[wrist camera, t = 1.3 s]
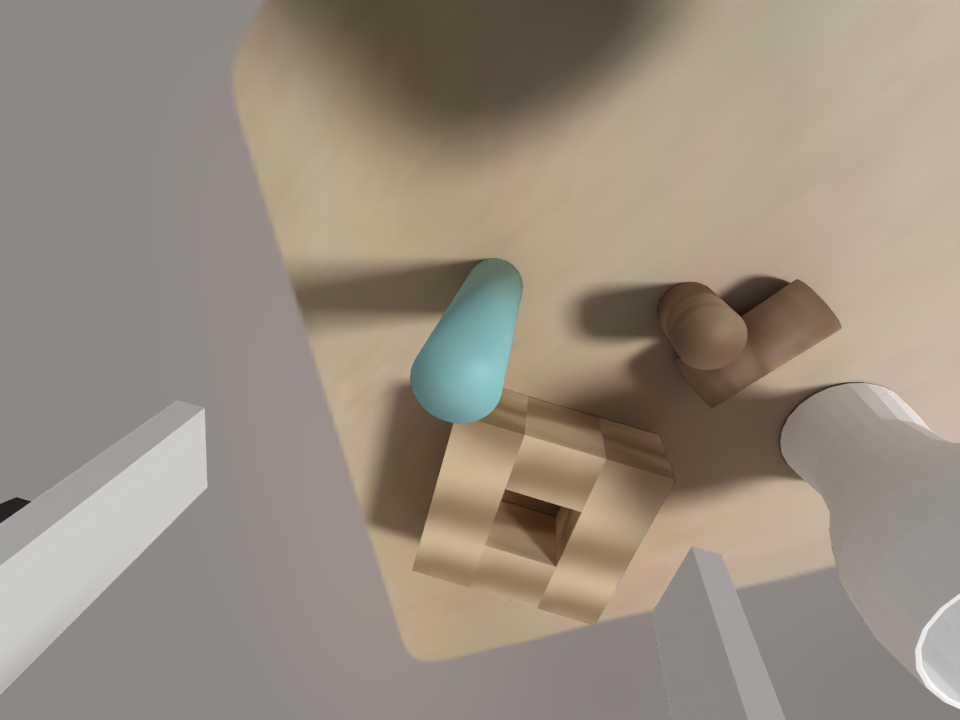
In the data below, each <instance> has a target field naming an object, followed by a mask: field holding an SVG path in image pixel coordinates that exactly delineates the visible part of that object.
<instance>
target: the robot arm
mask: <svg viewBox="0 0 960 720" xmlns="http://www.w3.org/2000/svg"><path fill="white" fill-rule="evenodd" d="M206 488H207V467H206V437H205V410H204V408H202V407H199V406H195V405H191V404H188V403H184V402H181V401H178V400H177V401H175V402H174V403H173V404H171V405H170V406H168V407H167V408H165V409H164V410H163V411H161V412H160V413H158V414H157V415H155V416H154V417H152V418H151V419H150V420H148V421H147V422H145V423H144V424H142V425H141V426H140V427H138V428H137V429H135V430H134V431H132V432H131V433H130V434H128V435H127V436H125V437H124V438H123V439H121V440H119V441H118V442H117V443H115V444H114V445H112V446H111V447H109V448H108V449H106V450H105V451H104V452H102V453H101V454H99V455H98V456H97V457H95V458H94V459H92V460H91V461H89V462H88V463H86V464H85V465H84V466H82V467H81V468H79V469H78V470H76V471H75V472H74V473H72V474H71V475H69V476H68V477H66V478H65V479H63V480H62V481H61V482H59V483H58V484H56V485H55V486H53V487H52V488H50V489H49V490H48V491H46V492H45V493H43V494H42V495H41V496H39V497H38V498H36V499H35V500H33V501H32V502H31V501H27V500H24V499H21V498H17V497H16V498H14V499H11V500H9V501H7V502H4V503H1V504H0V694H1V693H2V692H3V691H4V690H5V689H6V688H7V687H8V686H9V685H10V684H11V683H12V682H13V681H14V680H15V679H16V678H17V677H18V676H19V675H20V674H21V673H22V672H23V671H24V670H25V669H26V668H27V667H28V666H29V665H30V664H31V663H32V662H33V661H34V660H35V659H36V658H37V657H38V656H39V655H40V654H41V653H42V652H43V651H44V650H45V649H46V648H47V647H48V646H49V645H50V644H51V643H52V642H53V641H54V640H55V639H56V638H57V637H58V636H59V635H60V634H61V633H62V632H63V631H64V630H65V629H66V628H67V627H68V626H69V625H70V624H71V623H72V622H73V621H74V620H75V619H76V618H77V617H78V616H79V615H80V614H81V613H82V612H83V611H84V610H85V609H86V608H87V607H88V606H89V605H90V604H91V603H92V602H93V601H94V600H95V599H96V598H97V597H98V596H99V595H100V594H101V593H102V592H103V591H104V590H105V589H106V588H107V587H108V586H109V585H110V584H111V583H112V582H113V581H114V580H115V579H116V578H117V577H118V576H119V575H120V574H121V573H122V572H123V571H124V570H125V569H126V568H127V567H128V566H129V565H130V564H131V563H132V562H133V561H134V560H135V559H136V558H137V557H138V556H139V555H140V554H141V553H142V552H143V551H144V550H145V549H146V548H147V547H148V546H149V545H150V544H151V543H152V542H153V541H154V540H155V539H156V538H157V537H158V536H159V535H160V534H161V533H162V532H163V531H164V530H165V529H166V528H167V527H168V526H169V525H170V524H171V523H172V522H173V521H174V520H175V519H176V518H177V517H178V516H179V515H180V514H181V513H182V512H183V511H184V510H185V509H186V507H188V506H189V505H190V504H191V503H192V502H193V500H195V499H196V498H197V497H198V496H199V495H200V494H201V493H202V492H203V490H205V489H206ZM651 619H652V624H653V629H654V634H655V639H656V645H657V650H658V655H659V660H660V665H661V670H662V676H663V681H664V686H665V692H666V697H667V702H668V707H669V712H670V718H671V720H785V717H784V715H783V712H782V710H781V707H780V704H779V702H778V699H777V697H776V694H775V691H774V689H773V687H772V684H771V681H770V679H769V676H768V673H767V671H766V668H765V666H764V663H763V661H762V658H761V655H760V653H759V650H758V648H757V645H756V643H755V640H754V637H753V635H752V632H751V630H750V627H749V624H748V622H747V619H746V617H745V614H744V611H743V609H742V606H741V604H740V601H739V599H738V596H737V593H736V591H735V588H734V586H733V583H732V580H731V578H730V575H729V573H728V570H727V568H726V565H725V562H724V560H723V557H722V555H721V554H717V553H714V552H710V551H707V550H703V549H700V548H696V547H693V546H692V547H691V549H690V550H689V552H688V554H687V555H686V557H685V559H684V561H683V562H682V564H681V566H680V567H679V569H678V571H677V572H676V574H675V576H674V577H673V579H672V581H671V582H670V584H669V586H668V587H667V589H666V591H665V592H664V594H663V596H662V597H661V599H660V601H659V602H658V604H657V606H656V607H655V609H654V611H653V612H652V614H651Z"/></svg>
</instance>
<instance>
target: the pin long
mask: <svg viewBox="0 0 960 720" xmlns="http://www.w3.org/2000/svg"><path fill="white" fill-rule="evenodd" d="M522 288H523V284H522V279H521V276H520V274H519V272H518V270H517V269H516V268H515V267H514V266H513V265H512V264H510V263H509V262H507V261H505V260H502V259H497V258H491V259H486V260H484V261H481V262H480V263H478V264H477V265H476V266H475V267H474V268H473V269H472V271H471V272H470V274H469V275H468V277H467V278H466V280H465V282H464V283H463V285H462V286H461V288H460V289H459V291H458V293H457V294H456V296H455V297H454V299H453V301H452V302H451V304H450V305H449V307H448V308H447V310H446V312H445V313H444V315H443V316H442V318H441V319H440V321H439V323H438V324H437V326H436V327H435V329H434V331H433V332H432V334H431V335H430V337H429V338H428V340H427V342H426V343H425V345H424V346H423V348H422V350H421V351H420V353H419V354H418V356H417V357H416V359H415V361H414V363H413V365H412V369H411V374H410V381H411V387H412V391H413V393H414V395H415V397H416V399H417V401H418V402H419V403H420V405H421V406H422V407H423V408H424V409H425V410H426V411H427V412H429V413H430V414H431V415H433V416H434V417H436V418H438V419H441V420H443V421H446V422H451V423H470V422H474V421H477V420H480V419H482V418H484V417H485V416H487V415H488V414H489V413H490V412H491V411H493V409H494V408H495V407H496V406H497V404H498V402H499V400H500V397H501V394H502V390H503V385H504V380H505V375H506V370H507V365H508V360H509V355H510V349H511V344H512V339H513V334H514V329H515V324H516V319H517V314H518V309H519V304H520V299H521V294H522Z"/></svg>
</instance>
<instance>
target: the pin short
mask: <svg viewBox="0 0 960 720" xmlns="http://www.w3.org/2000/svg"><path fill="white" fill-rule="evenodd" d="M657 318H658V321H659V323H660V325H661V327H662V329H663V330H664V332H665V334H666V335H667V337H668V339H669V340H670V342H671V344H672V345H673V347H674V349H675V350H676V352H677V354H678V355H679V357H680V358H681V359H682V361H683V362H685V363H686V364H687V365H689V366H691V367H693V368H696V369H700V370H714V369H718V368H721V367H724V366H726V365H728V364H729V363H731V362H732V361H734V360H735V359H736V358H737V357H738V356H739V355H740V354H741V352H742V351H743V349H744V347H745V345H746V342H747V327H746V324H745V322H744V321H743V319H742V318H741V317H740V316H739V315H738V314H737V313H736V312H735V311H734V310H733V309H732V308H731V307H729V306H728V305H727V304H726V303H725V302H724V301H723V300H722V299H721V298H720V297H719V296H717V295H716V294H715V293H714V292H713V291H712V290H711V289H710V288H708V287H707V286H705V285H703V284H701V283H697V282H685V283H681V284H678V285H676V286H674V287H672V288H671V289H669V290H668V291H667V292H666V293H665V294H664V295H663V297H662V298H661V300H660V302H659V304H658V308H657Z"/></svg>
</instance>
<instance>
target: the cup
mask: <svg viewBox="0 0 960 720" xmlns="http://www.w3.org/2000/svg"><path fill="white" fill-rule="evenodd" d="M780 445H781V451H782V455H783V457H784V458H785V460H786V462H787V464H788V465H789V466H790V467H791V468H792V469H793V470H794V471H795V472H796V473H797V474H798V475H799V476H800V477H801V478H802V479H803V480H805V481H806V482H807V483H808V484H809V485H810V486H812V487H813V488H814V489H815V490H816V491H817V492H819V493H820V494H821V495H822V497H823V499H824V501H825V503H826V505H827V507H828V509H829V511H830V525H829V532H830V539H831V546H832V551H833V554H834V558H835V562H836V566H837V569H838V573H839V576H840V580H841V584H842V585H843V587H844V589H845V590H846V592H847V594H848V596H849V597H850V599H851V601H852V602H853V604H854V605H855V607H856V608H857V610H858V612H859V613H860V615H861V616H862V618H863V619H864V621H865V622H866V624H867V625H868V627H869V628H870V630H871V631H872V633H873V634H874V636H875V637H876V639H877V640H878V641H880V643H881V644H882V645H883V646H884V647H885V648H886V649H888V651H889V652H891V653H892V655H894V656H895V657H896V658H897V660H898V661H899V662H900V663H901V664H903V666H905V667H906V668H907V669H908V670H909V672H910V673H911V674H913V676H914V677H916V679H917V680H919V681H920V682H921V683H922V685H924V686H925V687H926V688H927V689H928V690H930V691H931V692H932V693H933V694H934V695H936V696H937V697H938V698H939V699H940V700H942V701H943V702H945V703H948V704H950V705H952V706H954V707H957V708H959V709H960V443H953V442H951V441H949V440H947V439H945V438H944V437H942V436H940V435H938V434H936V433H934V432H932V431H931V430H930V429H929V428H928V427H927V425H926V424H925V423H924V422H923V421H922V420H921V418H920V417H919V416H918V415H917V414H916V413H915V412H914V411H913V410H912V409H911V408H910V407H909V406H908V405H907V404H906V403H905V402H904V401H903V400H902V399H901V398H900V397H899V396H898V395H897V394H896V393H894V392H892V391H890V390H888V389H886V388H884V387H882V386H878V385H872V384H867V383H848V384H843V385H839V386H834V387H830V388H828V389H825V390H823V391H821V392H819V393H816V394H814V395H812V396H811V397H810V398H808V399H807V400H805V401H804V402H803V403H801V404H800V405H799V406H798V407H797V408H796V409H795V410H794V411H793V412H792V414H791V415H790V416H789V417H788V419H787V421H786V423H785V425H784V427H783V429H782V434H781V439H780Z"/></svg>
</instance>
